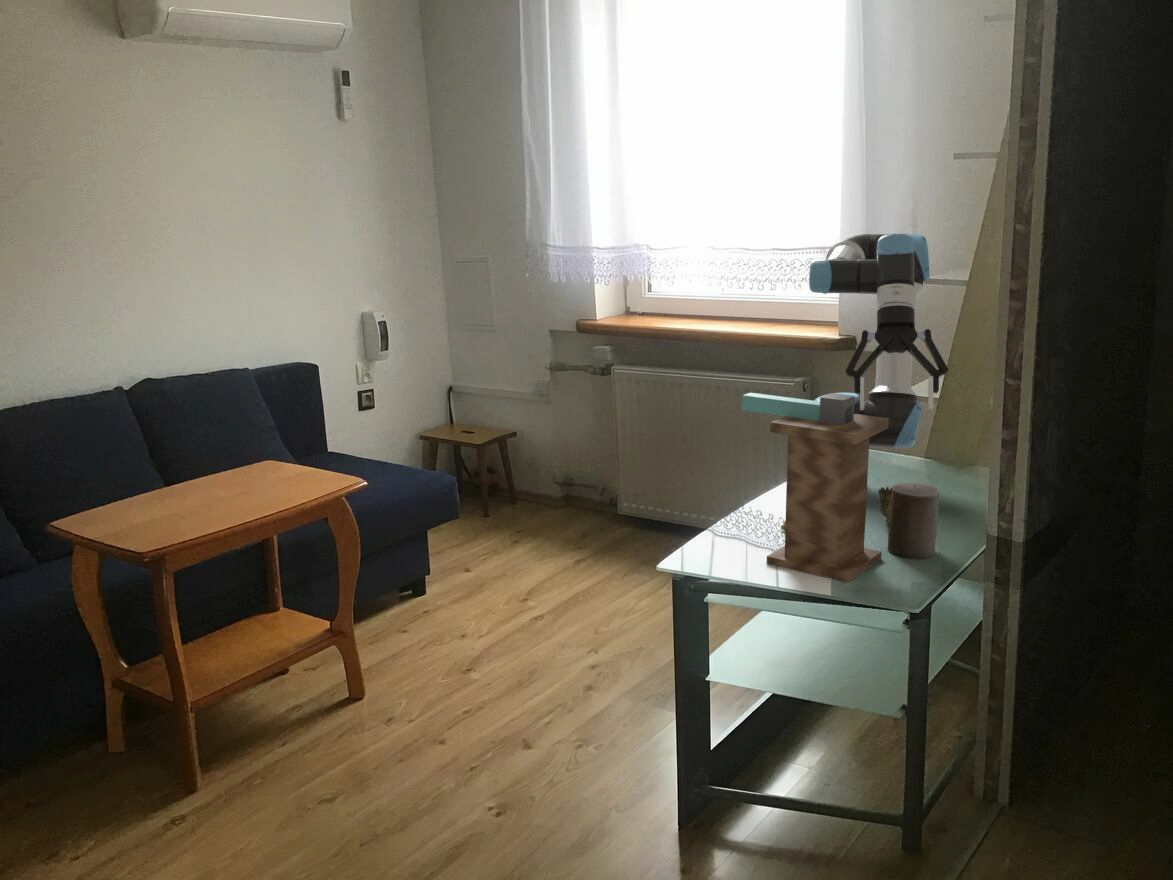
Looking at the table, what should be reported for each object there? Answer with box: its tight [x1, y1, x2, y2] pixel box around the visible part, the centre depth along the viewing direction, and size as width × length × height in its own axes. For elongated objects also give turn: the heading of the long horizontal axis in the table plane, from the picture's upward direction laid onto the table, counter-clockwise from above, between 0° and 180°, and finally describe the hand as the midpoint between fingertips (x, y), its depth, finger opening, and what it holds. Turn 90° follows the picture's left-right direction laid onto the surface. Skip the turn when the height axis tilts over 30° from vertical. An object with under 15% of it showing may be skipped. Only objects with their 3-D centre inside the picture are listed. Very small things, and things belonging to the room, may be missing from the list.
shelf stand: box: [766, 414, 889, 583], centre depth 214 cm, size 18×16×30 cm
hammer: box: [741, 392, 855, 425], centre depth 214 cm, size 23×5×5 cm, turn 52°
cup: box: [878, 486, 893, 526], centre depth 238 cm, size 8×7×8 cm
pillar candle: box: [887, 482, 941, 559], centre depth 221 cm, size 10×10×15 cm
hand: (896, 409), depth 216 cm, fingers open, 13 cm apart
